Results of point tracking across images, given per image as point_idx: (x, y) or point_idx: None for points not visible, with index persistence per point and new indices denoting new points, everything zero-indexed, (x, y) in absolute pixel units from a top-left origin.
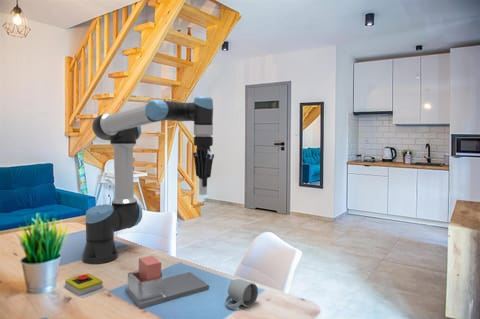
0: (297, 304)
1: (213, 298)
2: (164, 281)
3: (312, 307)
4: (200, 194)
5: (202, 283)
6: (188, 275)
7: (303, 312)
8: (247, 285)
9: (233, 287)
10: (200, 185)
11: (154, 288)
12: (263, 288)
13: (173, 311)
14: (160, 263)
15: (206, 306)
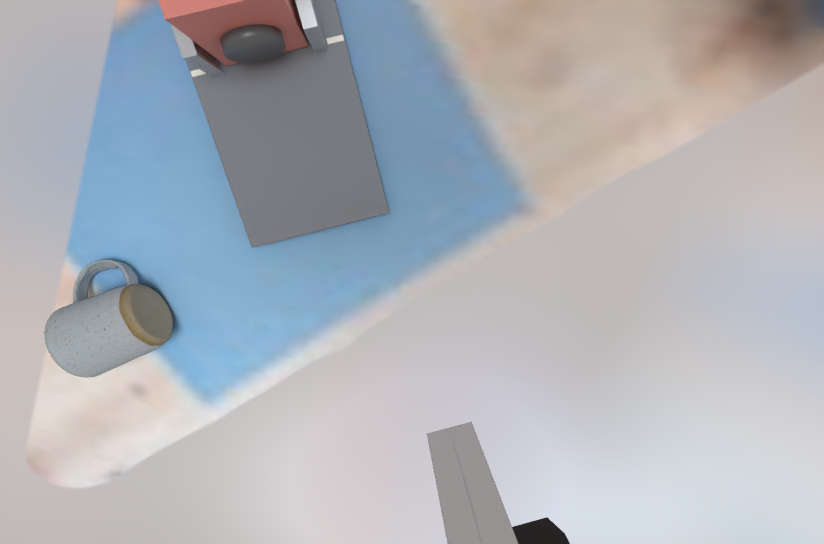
0: (88, 451)
1: (183, 240)
2: (188, 61)
3: (62, 478)
4: (441, 433)
5: (272, 230)
6: (357, 200)
7: (38, 446)
8: (46, 345)
9: (97, 302)
10: (466, 533)
11: None
12: (215, 404)
13: (120, 91)
14: (166, 17)
15: (132, 203)
